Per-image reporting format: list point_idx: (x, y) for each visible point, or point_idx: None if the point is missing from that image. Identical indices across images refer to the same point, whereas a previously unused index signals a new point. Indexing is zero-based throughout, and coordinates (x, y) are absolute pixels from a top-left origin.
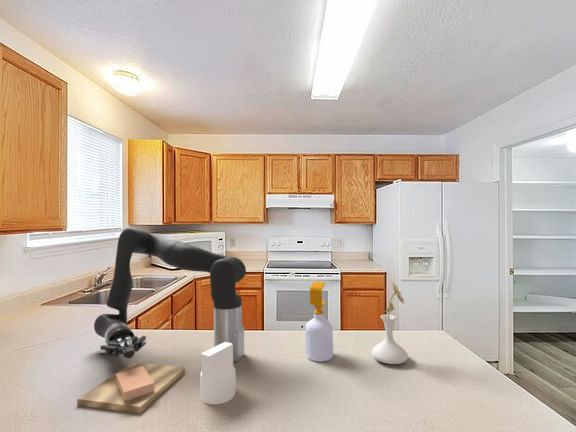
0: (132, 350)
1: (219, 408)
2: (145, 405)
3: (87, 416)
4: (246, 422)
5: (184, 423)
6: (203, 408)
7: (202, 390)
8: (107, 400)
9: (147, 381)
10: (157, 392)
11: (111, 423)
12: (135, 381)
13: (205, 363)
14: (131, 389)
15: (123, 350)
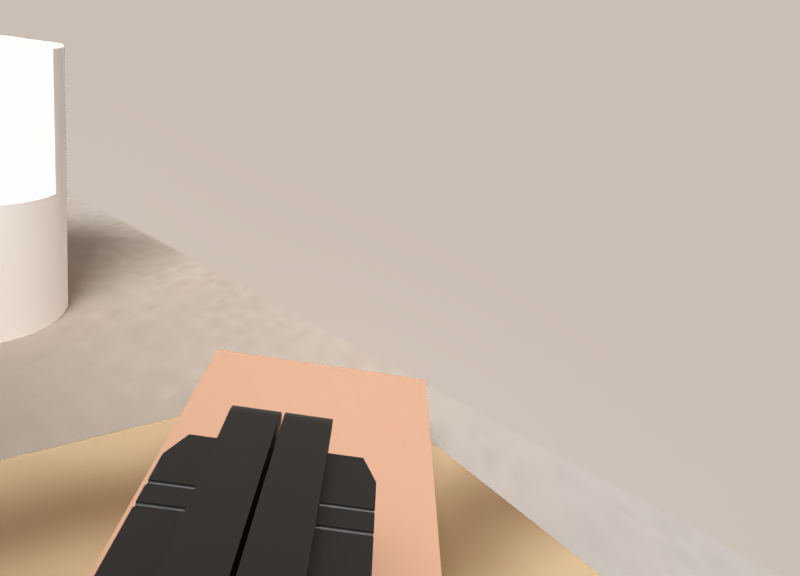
0: (236, 407)
1: (72, 270)
2: None
3: (625, 563)
4: (94, 221)
5: (229, 293)
6: (109, 295)
7: (62, 260)
8: (515, 529)
9: (242, 381)
10: None
11: (481, 434)
12: None
13: (64, 96)
14: (375, 377)
15: (353, 559)
